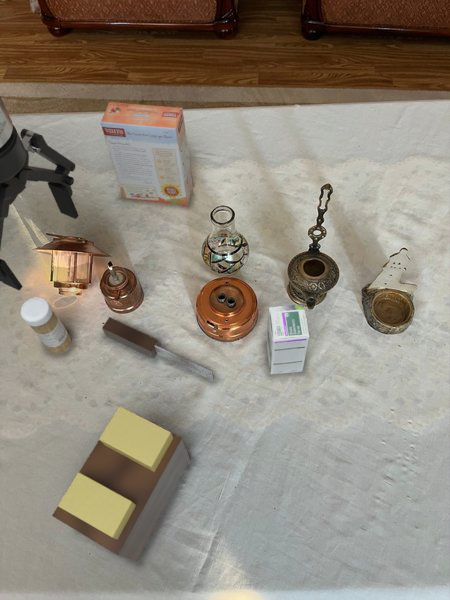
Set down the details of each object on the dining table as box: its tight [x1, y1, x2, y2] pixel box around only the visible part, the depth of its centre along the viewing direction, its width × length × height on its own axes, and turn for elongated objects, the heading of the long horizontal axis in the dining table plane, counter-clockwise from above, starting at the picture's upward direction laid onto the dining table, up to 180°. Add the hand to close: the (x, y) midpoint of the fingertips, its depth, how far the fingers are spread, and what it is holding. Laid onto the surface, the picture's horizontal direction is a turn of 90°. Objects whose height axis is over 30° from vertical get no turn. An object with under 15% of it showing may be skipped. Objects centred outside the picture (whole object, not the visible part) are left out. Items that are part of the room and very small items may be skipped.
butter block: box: [98, 405, 173, 472], centre depth 69 cm, size 8×5×3 cm, turn 63°
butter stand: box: [51, 432, 192, 562], centre depth 75 cm, size 10×16×14 cm, turn 153°
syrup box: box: [266, 303, 310, 375], centre depth 85 cm, size 6×6×14 cm
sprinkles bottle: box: [20, 296, 73, 355], centre depth 88 cm, size 5×5×14 cm
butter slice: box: [57, 471, 136, 540], centre depth 66 cm, size 8×4×3 cm, turn 63°
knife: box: [101, 317, 214, 381], centre depth 90 cm, size 21×2×4 cm, turn 63°
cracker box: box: [100, 101, 194, 206], centre depth 102 cm, size 14×6×21 cm, turn 80°
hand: (42, 248), depth 75 cm, fingers open, 13 cm apart
